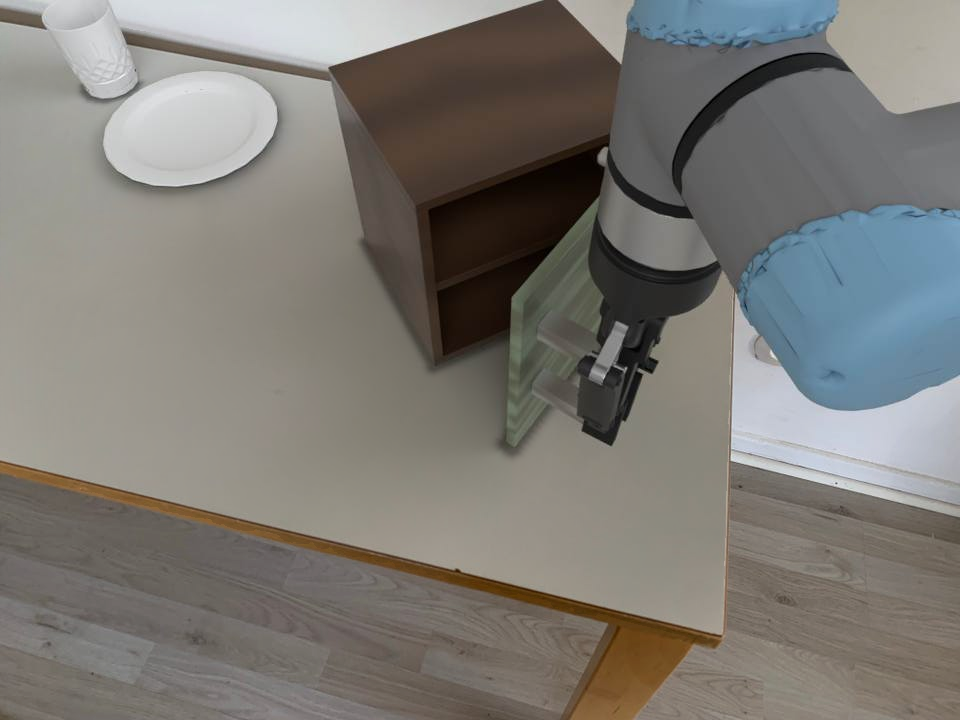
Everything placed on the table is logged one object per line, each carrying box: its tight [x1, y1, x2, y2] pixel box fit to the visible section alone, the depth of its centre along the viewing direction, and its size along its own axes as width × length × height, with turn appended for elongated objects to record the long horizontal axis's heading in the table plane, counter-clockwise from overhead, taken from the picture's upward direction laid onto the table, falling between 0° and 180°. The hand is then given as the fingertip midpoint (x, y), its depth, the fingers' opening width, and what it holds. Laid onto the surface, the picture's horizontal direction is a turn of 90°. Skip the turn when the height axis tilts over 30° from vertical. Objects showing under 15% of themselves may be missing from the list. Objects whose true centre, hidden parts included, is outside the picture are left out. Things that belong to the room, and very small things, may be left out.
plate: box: [102, 70, 279, 189], centre depth 89 cm, size 21×21×2 cm
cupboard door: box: [505, 196, 604, 448], centre depth 61 cm, size 7×22×22 cm, turn 144°
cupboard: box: [327, 0, 622, 367], centre depth 69 cm, size 18×22×22 cm
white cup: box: [41, 0, 139, 100], centre depth 91 cm, size 8×8×10 cm
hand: (605, 422), depth 59 cm, fingers closed on cupboard door, 2 cm apart
